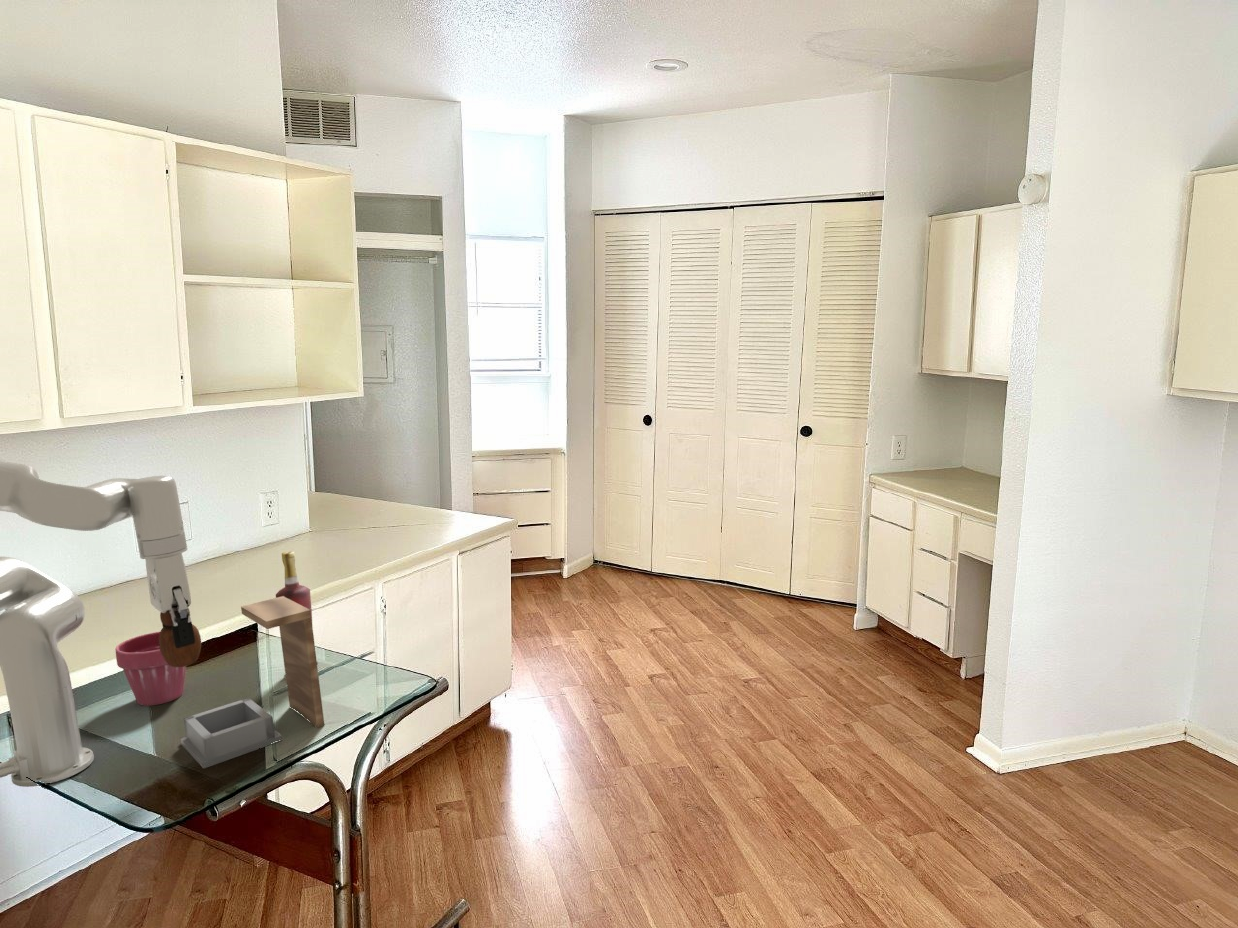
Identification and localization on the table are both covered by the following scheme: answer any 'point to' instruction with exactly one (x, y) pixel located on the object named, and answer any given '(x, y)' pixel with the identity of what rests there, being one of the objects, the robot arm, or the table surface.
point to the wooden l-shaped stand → (294, 652)
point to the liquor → (294, 584)
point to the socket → (228, 732)
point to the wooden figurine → (167, 646)
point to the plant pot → (149, 670)
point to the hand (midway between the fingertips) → (179, 640)
